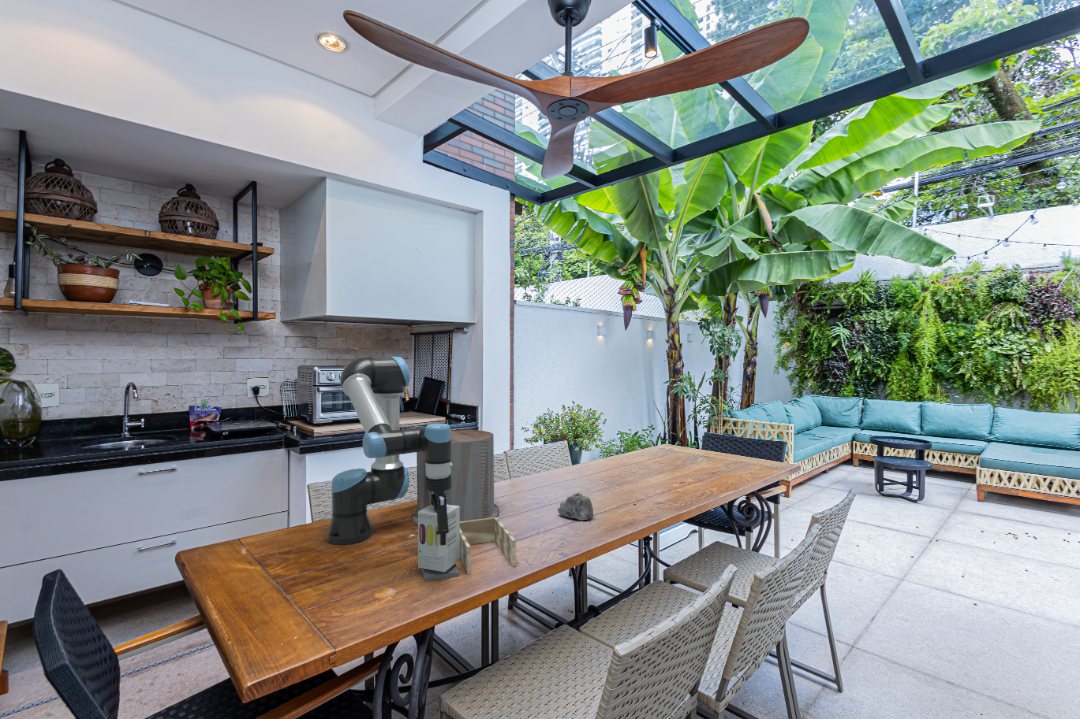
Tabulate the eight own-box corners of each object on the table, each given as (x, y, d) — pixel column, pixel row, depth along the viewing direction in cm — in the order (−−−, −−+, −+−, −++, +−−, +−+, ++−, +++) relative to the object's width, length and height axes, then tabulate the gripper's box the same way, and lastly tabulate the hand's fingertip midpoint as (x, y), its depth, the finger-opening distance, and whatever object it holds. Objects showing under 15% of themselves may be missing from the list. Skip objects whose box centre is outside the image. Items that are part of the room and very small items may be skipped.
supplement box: (417, 568, 143) (416, 511, 143) (434, 555, 152) (433, 502, 152) (445, 572, 140) (444, 514, 140) (461, 559, 149) (460, 505, 148)
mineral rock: (556, 515, 195) (555, 490, 195) (577, 510, 201) (577, 486, 201) (575, 525, 184) (574, 498, 184) (597, 519, 190) (596, 494, 190)
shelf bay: (453, 545, 165) (453, 522, 165) (496, 539, 170) (496, 516, 170) (467, 574, 144) (467, 547, 144) (516, 566, 149) (515, 540, 149)
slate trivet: (420, 567, 149) (420, 563, 149) (453, 562, 152) (453, 558, 152) (424, 581, 139) (424, 577, 139) (459, 575, 143) (459, 571, 143)
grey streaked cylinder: (427, 537, 173) (426, 447, 172) (401, 510, 203) (400, 433, 202) (514, 519, 190) (513, 437, 190) (479, 497, 221) (478, 426, 220)
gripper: (458, 485, 135) (459, 561, 135) (444, 465, 158) (445, 530, 159) (431, 487, 133) (432, 565, 133) (420, 467, 156) (421, 533, 156)
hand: (439, 546), depth 146 cm, fingers closed on supplement box, 13 cm apart
